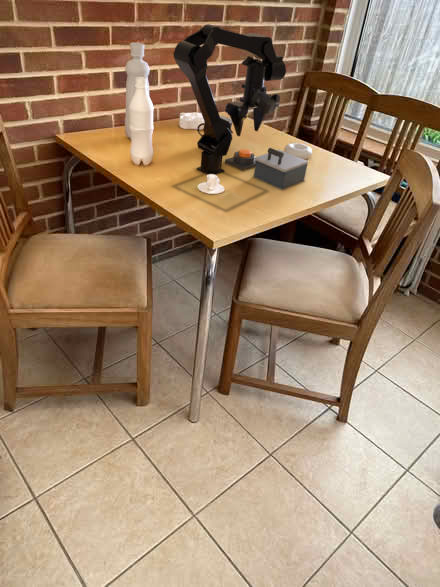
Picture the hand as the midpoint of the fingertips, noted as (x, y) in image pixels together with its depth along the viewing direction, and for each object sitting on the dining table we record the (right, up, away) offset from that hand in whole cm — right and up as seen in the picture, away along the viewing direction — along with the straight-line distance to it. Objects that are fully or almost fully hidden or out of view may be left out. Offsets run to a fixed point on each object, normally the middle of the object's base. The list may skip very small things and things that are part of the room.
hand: (247, 133), depth 147 cm
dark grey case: (+10, -15, -2) cm, 18 cm away
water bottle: (-34, -10, -2) cm, 35 cm away
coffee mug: (-11, 0, +15) cm, 19 cm away
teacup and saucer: (-9, -21, -12) cm, 25 cm away
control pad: (-1, -8, +6) cm, 10 cm away
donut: (+19, -2, +17) cm, 26 cm away
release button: (-1, -6, +4) cm, 7 cm away
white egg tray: (-17, +15, +34) cm, 41 cm away
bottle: (-38, +3, +15) cm, 41 cm away
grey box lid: (+10, -11, -5) cm, 16 cm away
